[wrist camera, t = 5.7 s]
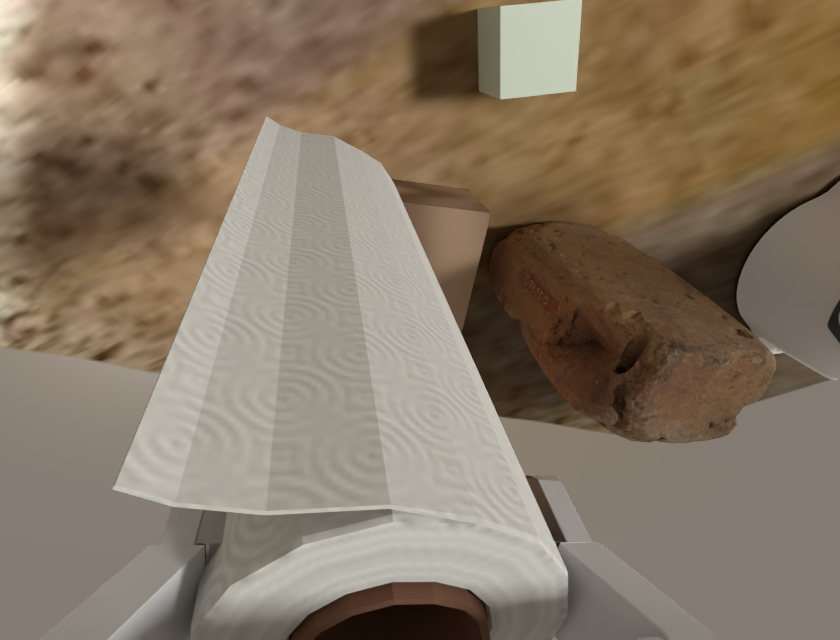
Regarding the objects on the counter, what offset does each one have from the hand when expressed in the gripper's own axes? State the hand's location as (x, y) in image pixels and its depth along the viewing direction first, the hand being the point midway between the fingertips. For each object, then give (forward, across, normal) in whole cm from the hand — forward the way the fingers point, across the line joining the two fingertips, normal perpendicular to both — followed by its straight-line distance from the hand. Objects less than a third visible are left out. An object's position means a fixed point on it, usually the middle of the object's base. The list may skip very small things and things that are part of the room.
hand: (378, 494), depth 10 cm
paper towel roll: (+19, +1, -1) cm, 19 cm away
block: (+32, -18, +6) cm, 37 cm away
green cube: (+32, -11, -9) cm, 34 cm away
